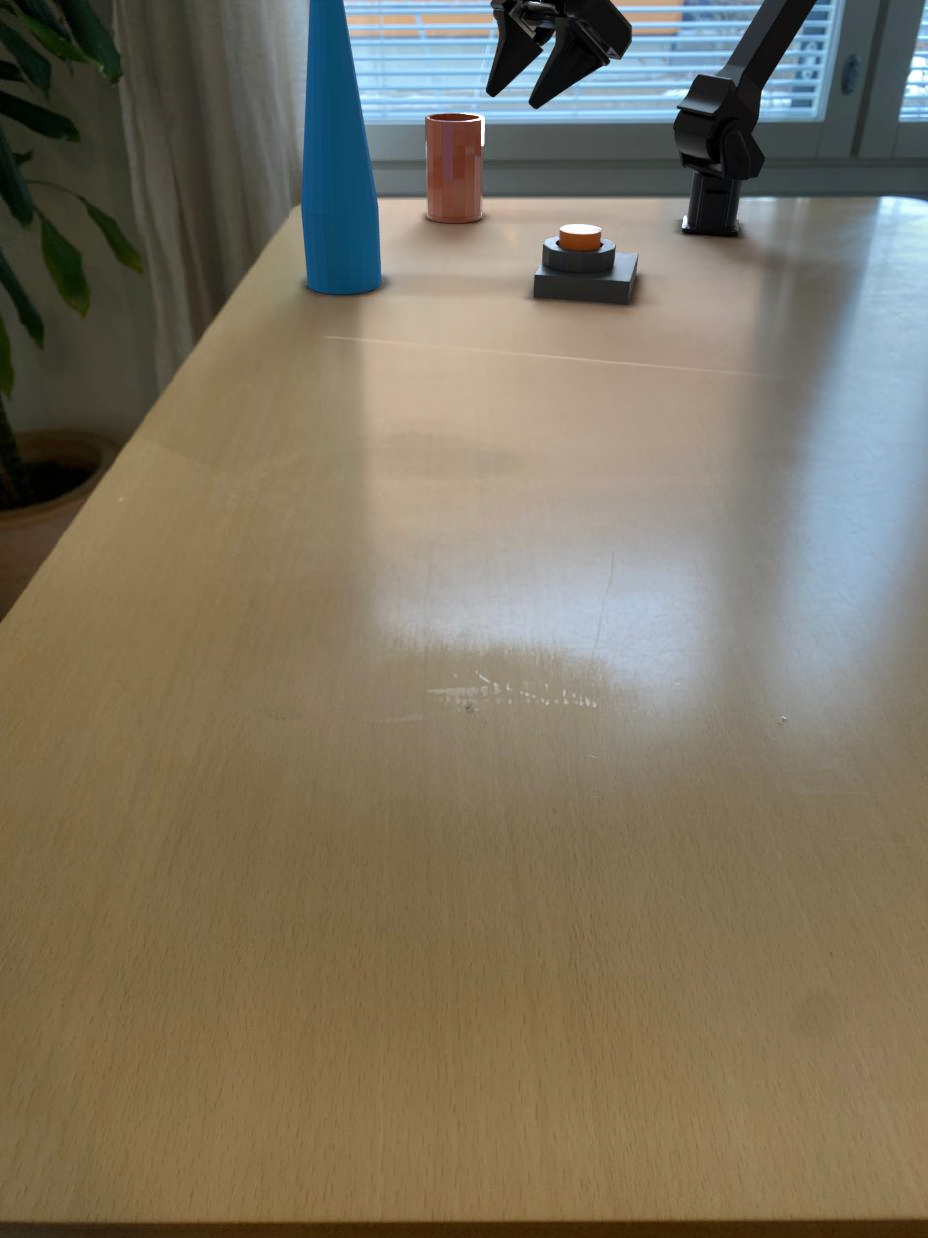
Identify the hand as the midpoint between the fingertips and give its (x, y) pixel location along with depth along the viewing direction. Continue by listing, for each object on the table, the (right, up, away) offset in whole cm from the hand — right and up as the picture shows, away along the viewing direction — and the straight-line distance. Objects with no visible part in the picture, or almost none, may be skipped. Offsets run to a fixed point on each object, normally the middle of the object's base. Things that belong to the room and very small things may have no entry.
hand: (509, 100), depth 94 cm
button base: (+8, -19, -1) cm, 20 cm away
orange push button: (+7, -16, -3) cm, 17 cm away
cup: (-6, -2, +22) cm, 23 cm away
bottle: (-16, -19, -1) cm, 25 cm away
